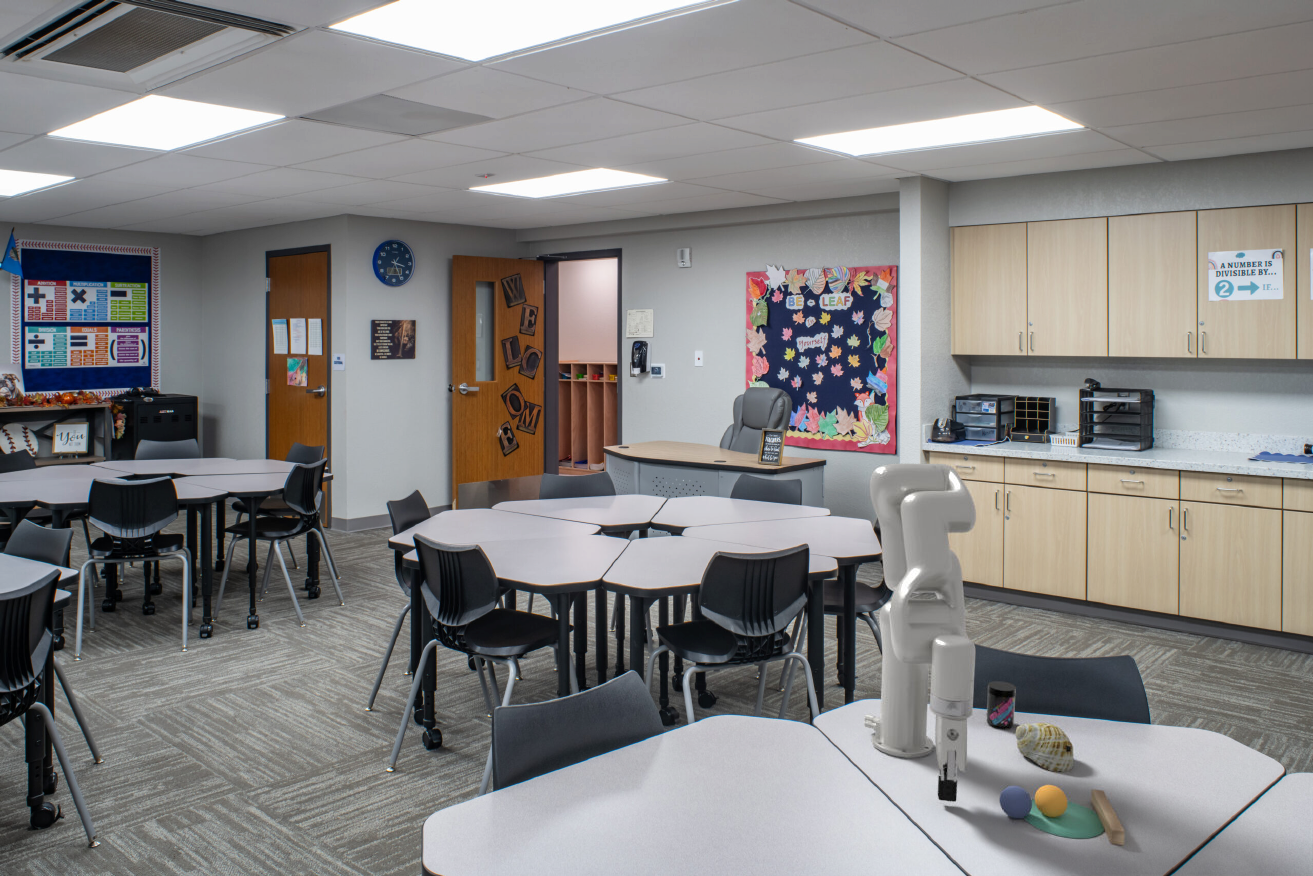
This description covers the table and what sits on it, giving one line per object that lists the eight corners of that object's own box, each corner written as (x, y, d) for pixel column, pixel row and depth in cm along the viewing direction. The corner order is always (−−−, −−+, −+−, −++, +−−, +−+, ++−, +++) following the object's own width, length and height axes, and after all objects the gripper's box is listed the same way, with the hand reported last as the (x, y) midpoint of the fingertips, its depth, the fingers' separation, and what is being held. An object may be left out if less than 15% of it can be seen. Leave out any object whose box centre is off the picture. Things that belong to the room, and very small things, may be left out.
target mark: (1027, 833, 166) (1027, 832, 166) (1015, 795, 179) (1015, 794, 179) (1113, 843, 163) (1113, 841, 163) (1094, 803, 176) (1094, 802, 176)
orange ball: (1079, 803, 170) (1062, 826, 171) (1058, 782, 175) (1041, 805, 176) (1060, 796, 168) (1043, 820, 169) (1039, 775, 172) (1022, 799, 173)
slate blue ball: (1010, 828, 171) (990, 804, 171) (1016, 808, 175) (996, 785, 175) (1035, 820, 167) (1014, 795, 168) (1041, 799, 171) (1020, 775, 172)
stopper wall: (1111, 844, 163) (1112, 830, 162) (1090, 802, 177) (1091, 789, 177) (1123, 845, 162) (1124, 831, 162) (1102, 803, 177) (1103, 790, 176)
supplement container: (982, 725, 212) (984, 686, 211) (990, 717, 216) (992, 679, 215) (1009, 732, 208) (1011, 693, 207) (1017, 724, 213) (1019, 685, 212)
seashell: (1085, 770, 189) (1063, 725, 188) (1037, 788, 191) (1015, 744, 190) (1071, 745, 199) (1050, 702, 198) (1025, 762, 201) (1004, 720, 200)
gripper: (977, 721, 165) (972, 821, 167) (968, 690, 180) (963, 782, 182) (932, 717, 167) (928, 816, 169) (927, 687, 181) (923, 778, 183)
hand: (946, 798), depth 175 cm, fingers closed
